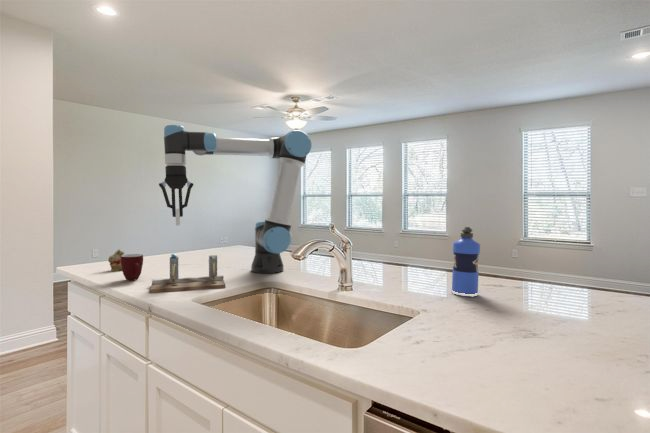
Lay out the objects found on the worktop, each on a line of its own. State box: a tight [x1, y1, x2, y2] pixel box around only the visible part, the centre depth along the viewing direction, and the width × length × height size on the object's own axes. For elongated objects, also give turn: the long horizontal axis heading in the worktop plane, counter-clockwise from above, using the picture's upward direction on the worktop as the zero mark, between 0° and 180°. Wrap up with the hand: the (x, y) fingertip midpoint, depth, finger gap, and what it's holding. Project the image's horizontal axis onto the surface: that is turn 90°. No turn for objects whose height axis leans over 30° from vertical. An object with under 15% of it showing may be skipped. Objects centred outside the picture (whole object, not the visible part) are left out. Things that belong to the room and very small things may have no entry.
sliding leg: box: [169, 253, 179, 281], centre depth 137 cm, size 3×8×9 cm, turn 21°
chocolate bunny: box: [108, 248, 125, 272], centre depth 167 cm, size 6×8×10 cm
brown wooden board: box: [149, 275, 226, 294], centre depth 139 cm, size 26×12×3 cm, turn 111°
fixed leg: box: [208, 254, 218, 279], centre depth 143 cm, size 3×8×8 cm, turn 21°
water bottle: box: [451, 226, 481, 294], centre depth 134 cm, size 9×9×25 cm
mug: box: [121, 253, 144, 282], centre depth 147 cm, size 11×8×10 cm
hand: (178, 225), depth 144 cm, fingers closed
